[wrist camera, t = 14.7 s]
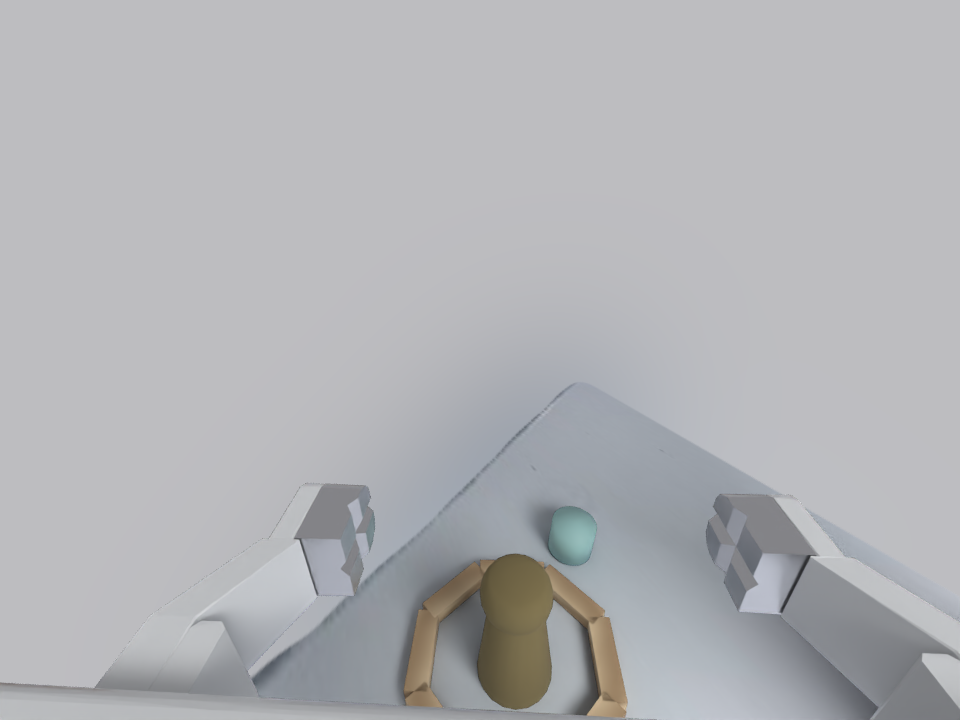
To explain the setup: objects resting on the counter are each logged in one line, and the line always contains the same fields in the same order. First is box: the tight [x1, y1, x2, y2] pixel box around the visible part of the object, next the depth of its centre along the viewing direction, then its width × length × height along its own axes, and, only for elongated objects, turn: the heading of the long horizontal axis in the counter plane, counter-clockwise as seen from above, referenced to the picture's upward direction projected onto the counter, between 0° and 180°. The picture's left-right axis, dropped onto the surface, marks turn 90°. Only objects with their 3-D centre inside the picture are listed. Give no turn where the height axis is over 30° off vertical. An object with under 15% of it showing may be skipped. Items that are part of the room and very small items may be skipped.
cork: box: [477, 554, 553, 710], centre depth 32 cm, size 6×6×11 cm
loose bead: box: [548, 506, 597, 566], centre depth 43 cm, size 4×4×4 cm
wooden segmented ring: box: [404, 560, 628, 718], centre depth 34 cm, size 17×17×1 cm
